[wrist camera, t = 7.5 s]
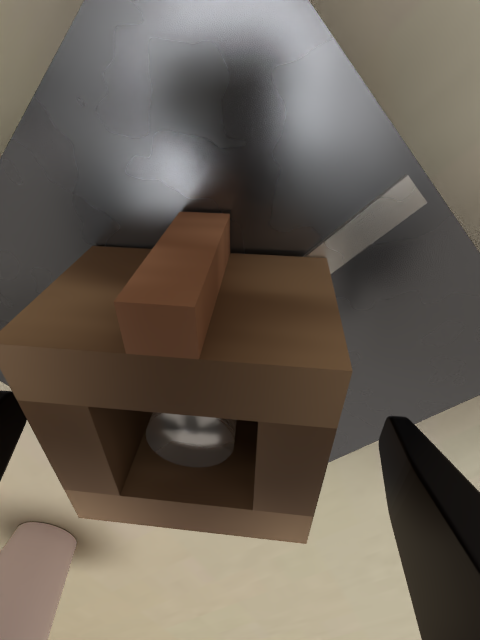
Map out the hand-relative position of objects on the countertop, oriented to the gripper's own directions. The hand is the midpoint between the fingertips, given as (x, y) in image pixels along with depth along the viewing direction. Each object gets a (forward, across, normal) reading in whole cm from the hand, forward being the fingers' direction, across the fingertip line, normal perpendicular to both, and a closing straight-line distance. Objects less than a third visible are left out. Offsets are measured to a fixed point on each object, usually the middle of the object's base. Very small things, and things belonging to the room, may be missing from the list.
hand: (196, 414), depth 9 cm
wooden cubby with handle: (+3, 0, 0) cm, 3 cm away
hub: (+4, 0, 0) cm, 4 cm away
